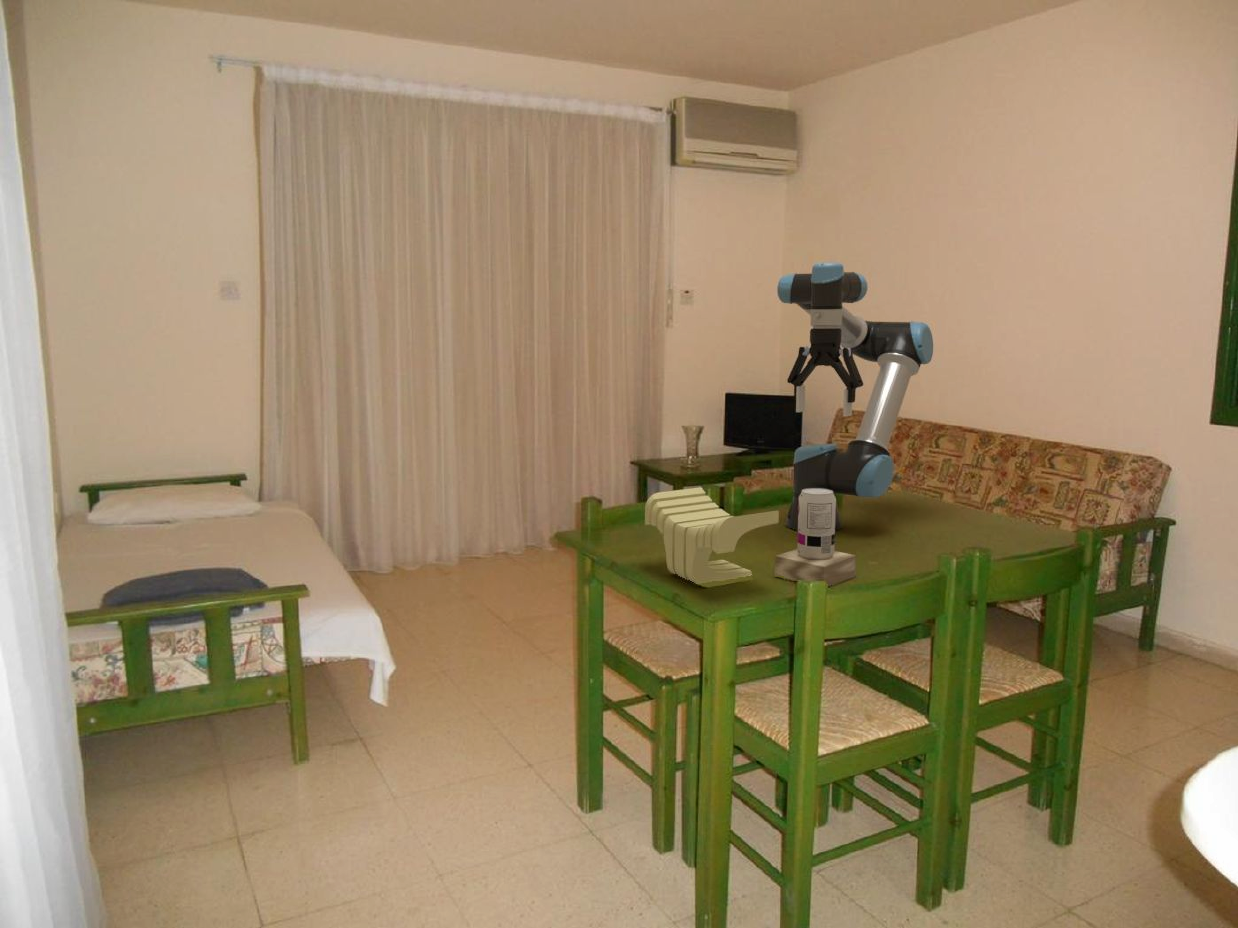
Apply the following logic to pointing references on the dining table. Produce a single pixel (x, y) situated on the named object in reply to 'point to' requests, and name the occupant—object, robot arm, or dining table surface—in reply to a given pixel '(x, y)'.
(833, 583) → the birch plinth
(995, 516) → the dining table surface
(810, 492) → the supplement can
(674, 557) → the slatted curved stool
